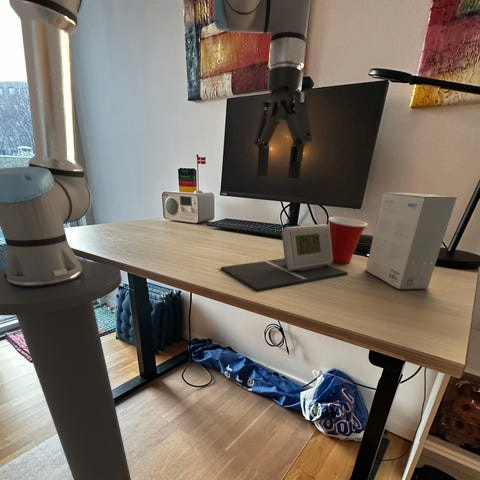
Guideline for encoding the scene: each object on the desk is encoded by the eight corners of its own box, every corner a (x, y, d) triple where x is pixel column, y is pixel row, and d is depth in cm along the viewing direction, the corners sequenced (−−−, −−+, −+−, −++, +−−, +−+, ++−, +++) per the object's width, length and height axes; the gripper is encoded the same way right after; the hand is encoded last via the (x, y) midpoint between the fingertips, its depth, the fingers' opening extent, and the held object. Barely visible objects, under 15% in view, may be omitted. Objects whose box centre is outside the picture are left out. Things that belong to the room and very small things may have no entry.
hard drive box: (428, 289, 69) (459, 197, 60) (398, 290, 68) (425, 196, 59) (389, 269, 83) (409, 191, 74) (364, 270, 82) (381, 191, 73)
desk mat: (256, 291, 66) (257, 288, 66) (220, 269, 80) (220, 266, 79) (347, 274, 78) (347, 271, 78) (302, 257, 92) (302, 255, 92)
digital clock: (286, 273, 75) (290, 230, 71) (271, 263, 83) (274, 224, 78) (340, 268, 80) (347, 228, 76) (321, 260, 88) (326, 222, 83)
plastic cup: (356, 268, 83) (365, 224, 78) (317, 262, 88) (323, 220, 82) (362, 259, 92) (371, 219, 86) (327, 254, 96) (333, 215, 91)
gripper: (340, 58, 58) (322, 179, 67) (268, 84, 77) (262, 175, 86) (310, 49, 54) (296, 178, 64) (243, 79, 74) (239, 174, 83)
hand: (276, 177), depth 75 cm, fingers open, 13 cm apart
